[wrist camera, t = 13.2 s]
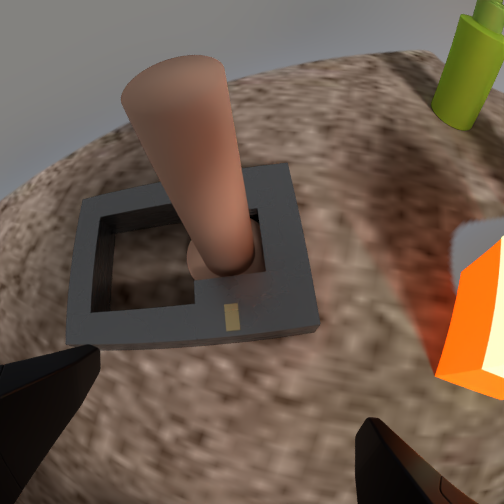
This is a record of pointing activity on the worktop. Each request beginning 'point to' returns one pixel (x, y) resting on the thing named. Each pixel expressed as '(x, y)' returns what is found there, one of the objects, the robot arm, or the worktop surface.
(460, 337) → the orange juice
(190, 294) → the worktop surface
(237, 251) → the peg
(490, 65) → the soap dispenser
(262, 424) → the worktop surface
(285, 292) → the keyhole plate
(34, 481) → the worktop surface
